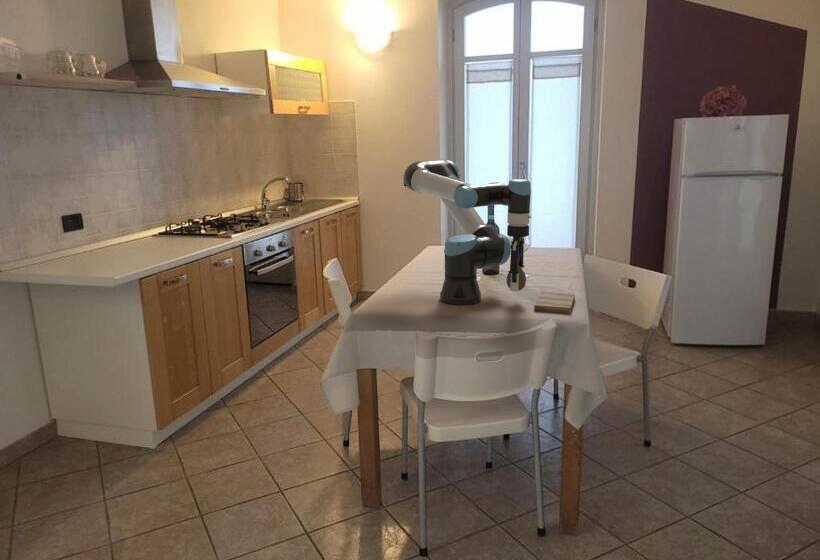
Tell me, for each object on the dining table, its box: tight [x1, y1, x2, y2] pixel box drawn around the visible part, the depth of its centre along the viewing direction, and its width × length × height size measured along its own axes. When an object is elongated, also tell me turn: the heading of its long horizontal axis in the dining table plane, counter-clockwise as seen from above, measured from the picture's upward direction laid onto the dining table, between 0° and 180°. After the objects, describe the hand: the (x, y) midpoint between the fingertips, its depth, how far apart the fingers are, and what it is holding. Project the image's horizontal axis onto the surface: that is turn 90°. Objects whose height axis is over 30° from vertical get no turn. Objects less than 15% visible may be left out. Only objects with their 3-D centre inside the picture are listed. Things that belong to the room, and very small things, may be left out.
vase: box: [506, 265, 527, 292], centre depth 219 cm, size 7×7×9 cm
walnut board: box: [533, 291, 576, 314], centre depth 218 cm, size 18×12×2 cm, turn 161°
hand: (516, 288), depth 220 cm, fingers closed on vase, 7 cm apart
